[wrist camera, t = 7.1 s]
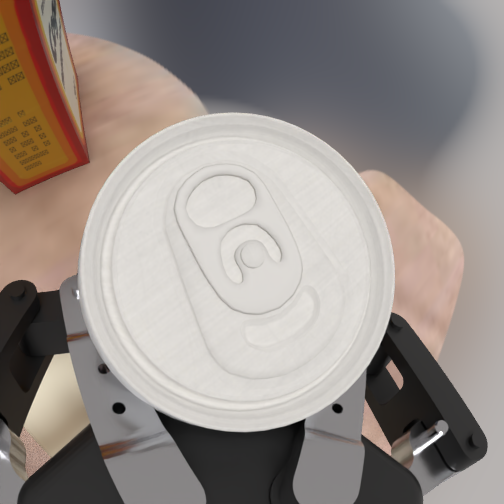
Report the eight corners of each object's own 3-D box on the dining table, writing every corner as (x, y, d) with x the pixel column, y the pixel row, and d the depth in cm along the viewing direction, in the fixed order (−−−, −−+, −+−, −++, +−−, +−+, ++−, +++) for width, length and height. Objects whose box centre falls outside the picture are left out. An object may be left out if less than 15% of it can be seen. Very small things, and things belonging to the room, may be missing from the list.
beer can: (174, 364, 18) (187, 509, 3) (128, 277, 18) (15, 177, 4) (256, 318, 20) (446, 321, 5) (212, 236, 20) (308, 71, 6)
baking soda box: (13, 103, 18) (-47, -31, 3) (77, 76, 20) (49, -79, 5) (15, 194, 17) (-109, 58, 2) (89, 162, 19) (22, -32, 4)
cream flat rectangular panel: (1, 373, 14) (-13, 378, 12) (100, 279, 18) (92, 275, 16) (226, 563, 15) (231, 577, 13) (321, 496, 18) (333, 507, 16)
